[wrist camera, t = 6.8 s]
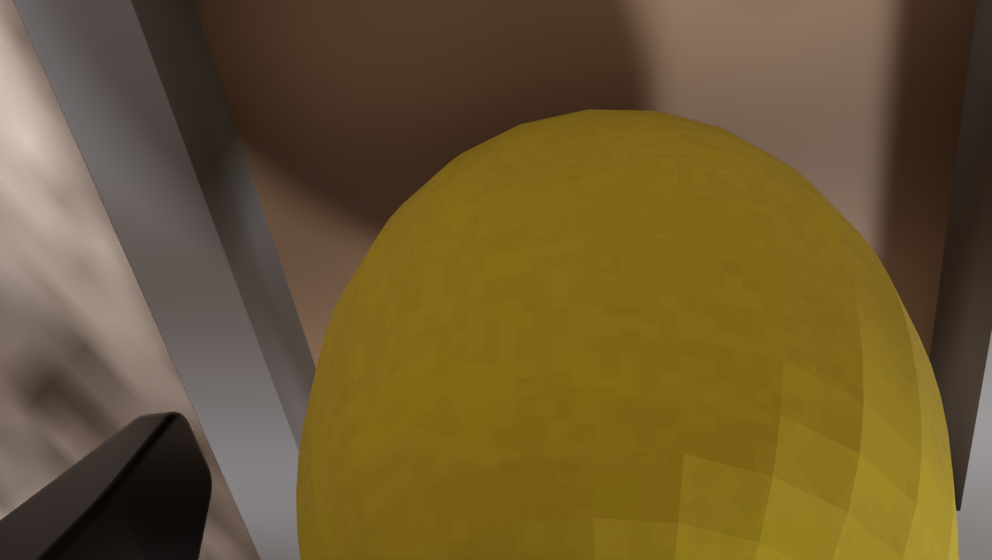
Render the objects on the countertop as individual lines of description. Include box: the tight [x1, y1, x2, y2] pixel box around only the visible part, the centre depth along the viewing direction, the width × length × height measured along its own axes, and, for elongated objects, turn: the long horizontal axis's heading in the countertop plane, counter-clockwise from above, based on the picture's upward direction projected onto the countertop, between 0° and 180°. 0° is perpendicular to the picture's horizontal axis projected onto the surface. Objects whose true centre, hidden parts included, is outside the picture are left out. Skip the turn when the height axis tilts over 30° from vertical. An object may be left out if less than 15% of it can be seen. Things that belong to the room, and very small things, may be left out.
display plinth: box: [13, 0, 992, 560], centre depth 12 cm, size 13×13×4 cm
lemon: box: [296, 110, 959, 560], centre depth 8 cm, size 6×6×8 cm
